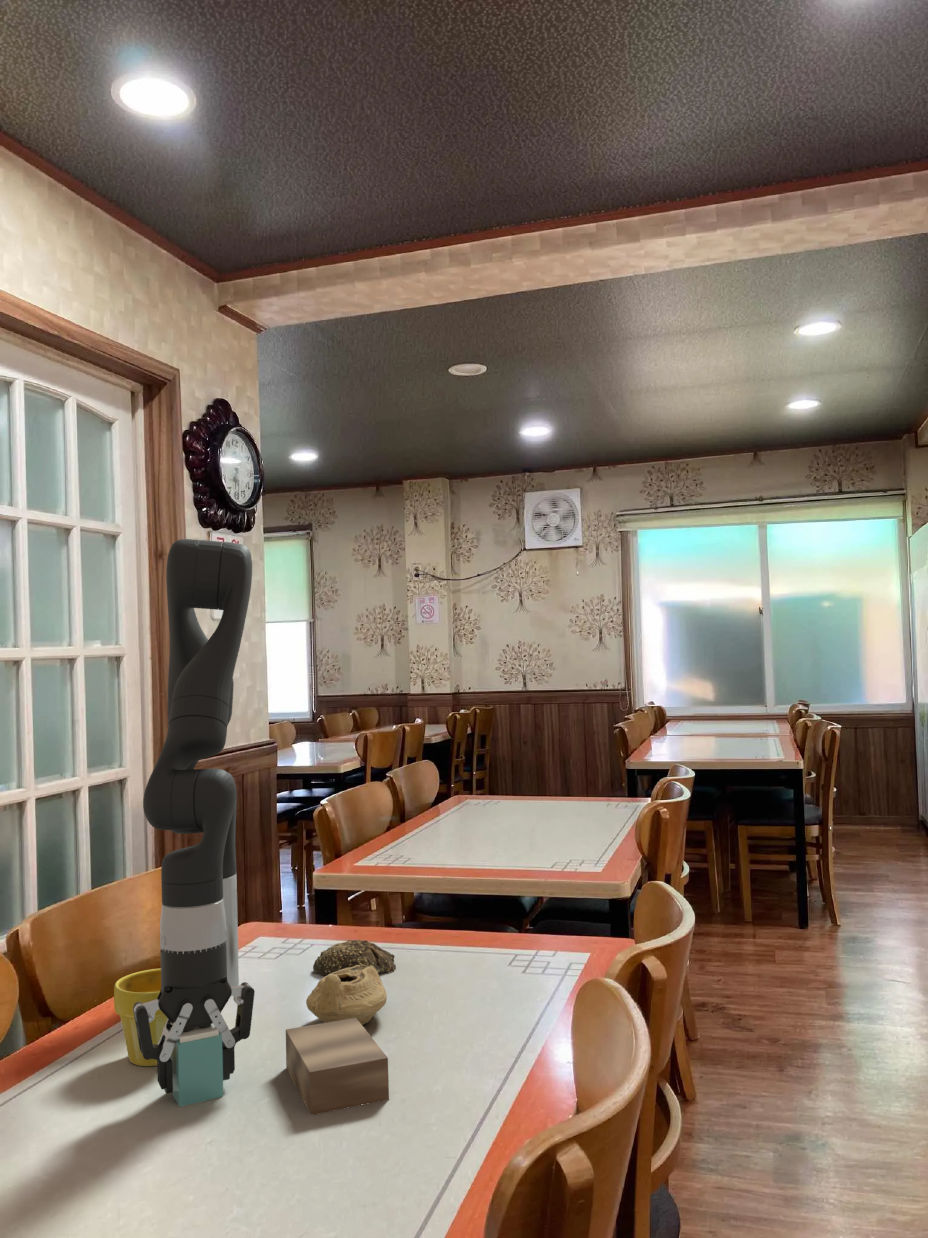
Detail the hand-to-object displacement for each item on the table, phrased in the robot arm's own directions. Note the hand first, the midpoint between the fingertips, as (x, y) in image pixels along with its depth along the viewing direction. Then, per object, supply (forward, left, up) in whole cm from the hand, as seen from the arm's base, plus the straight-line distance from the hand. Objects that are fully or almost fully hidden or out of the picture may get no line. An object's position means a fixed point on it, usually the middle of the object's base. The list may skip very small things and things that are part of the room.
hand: (196, 1084), depth 115 cm
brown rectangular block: (+6, +15, -1) cm, 16 cm away
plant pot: (-14, -2, -1) cm, 14 cm away
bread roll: (-34, +33, -2) cm, 48 cm away
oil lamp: (-13, +24, -1) cm, 27 cm away
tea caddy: (0, 0, -1) cm, 1 cm away
